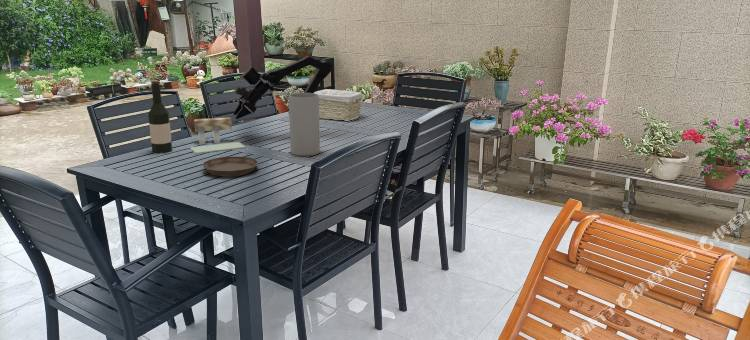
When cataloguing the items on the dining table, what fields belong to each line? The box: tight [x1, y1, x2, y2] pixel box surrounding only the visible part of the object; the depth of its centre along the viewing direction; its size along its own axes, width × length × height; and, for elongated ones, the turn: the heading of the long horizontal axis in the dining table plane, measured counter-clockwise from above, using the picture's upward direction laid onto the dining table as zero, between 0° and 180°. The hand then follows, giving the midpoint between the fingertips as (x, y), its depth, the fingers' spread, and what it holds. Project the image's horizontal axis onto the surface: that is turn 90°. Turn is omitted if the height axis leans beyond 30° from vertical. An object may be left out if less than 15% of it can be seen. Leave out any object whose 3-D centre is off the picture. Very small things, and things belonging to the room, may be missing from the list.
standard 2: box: [212, 125, 221, 144], centre depth 257 cm, size 2×8×8 cm, turn 20°
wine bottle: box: [147, 80, 173, 154], centre depth 236 cm, size 8×8×30 cm
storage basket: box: [314, 88, 363, 121], centre depth 310 cm, size 24×16×15 cm
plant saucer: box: [202, 155, 259, 177], centre depth 215 cm, size 21×21×3 cm
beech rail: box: [193, 117, 233, 133], centre depth 256 cm, size 16×4×5 cm, turn 110°
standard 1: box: [197, 126, 206, 146], centre depth 255 cm, size 2×8×8 cm, turn 20°
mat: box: [189, 141, 247, 155], centre depth 246 cm, size 22×10×1 cm, turn 120°
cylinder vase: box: [288, 92, 321, 157], centre depth 237 cm, size 12×12×25 cm
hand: (235, 116), depth 258 cm, fingers open, 9 cm apart
